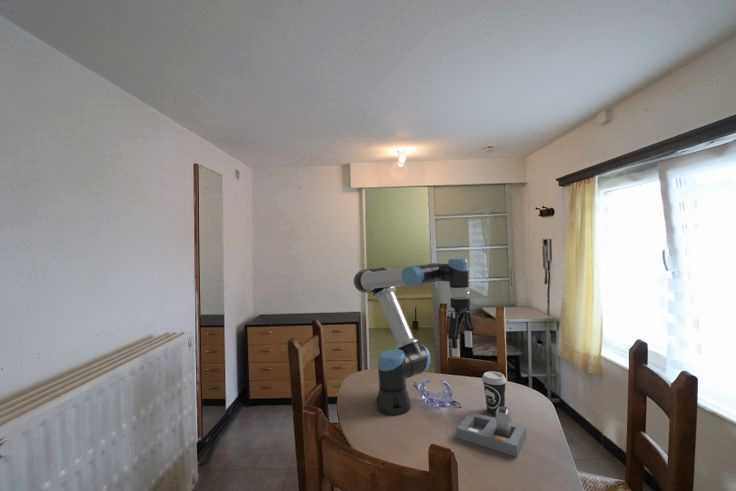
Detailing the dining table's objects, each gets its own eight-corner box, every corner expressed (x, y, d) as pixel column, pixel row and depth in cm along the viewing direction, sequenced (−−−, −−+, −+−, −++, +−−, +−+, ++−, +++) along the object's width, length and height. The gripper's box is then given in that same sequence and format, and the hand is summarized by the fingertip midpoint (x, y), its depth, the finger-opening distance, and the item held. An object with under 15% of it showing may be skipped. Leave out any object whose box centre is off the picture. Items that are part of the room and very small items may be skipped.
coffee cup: (510, 418, 130) (508, 380, 130) (485, 417, 132) (483, 379, 132) (505, 406, 139) (503, 371, 139) (481, 405, 141) (480, 370, 141)
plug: (497, 440, 115) (495, 409, 115) (500, 434, 118) (498, 404, 118) (509, 443, 112) (507, 411, 112) (512, 438, 115) (510, 407, 116)
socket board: (457, 438, 118) (456, 427, 118) (471, 420, 129) (470, 411, 129) (517, 457, 106) (516, 445, 106) (526, 436, 117) (526, 425, 117)
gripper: (456, 303, 119) (459, 362, 119) (479, 293, 139) (482, 344, 138) (437, 301, 123) (440, 359, 123) (462, 293, 143) (464, 342, 143)
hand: (462, 351), depth 131 cm, fingers open, 13 cm apart
